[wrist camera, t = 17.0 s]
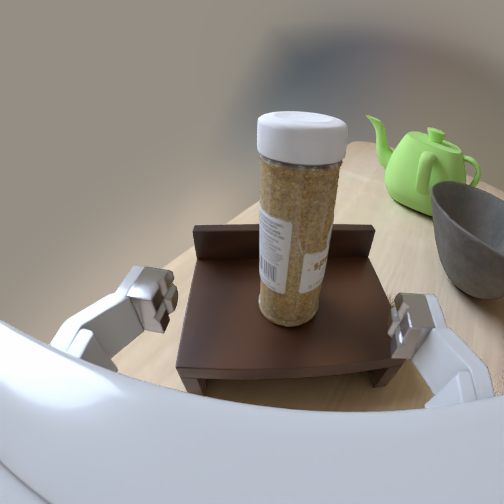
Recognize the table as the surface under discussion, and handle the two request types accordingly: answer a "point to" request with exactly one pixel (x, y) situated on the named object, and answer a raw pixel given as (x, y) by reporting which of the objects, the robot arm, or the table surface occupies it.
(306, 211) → the sprinkles bottle
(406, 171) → the teapot
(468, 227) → the bowl
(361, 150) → the table surface
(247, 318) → the shelf
